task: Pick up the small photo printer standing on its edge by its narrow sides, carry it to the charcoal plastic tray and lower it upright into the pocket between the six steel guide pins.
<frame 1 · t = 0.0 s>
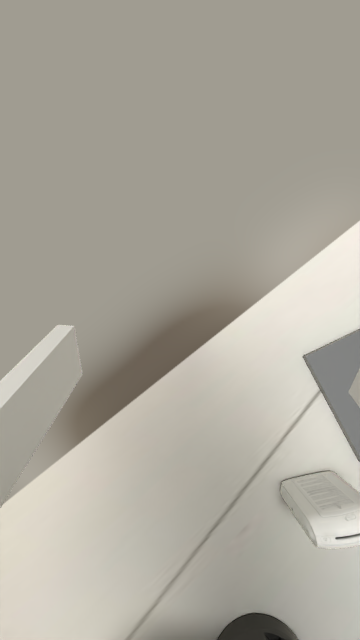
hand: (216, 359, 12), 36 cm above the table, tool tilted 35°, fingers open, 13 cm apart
photo printer: (307, 485, 44), on the table
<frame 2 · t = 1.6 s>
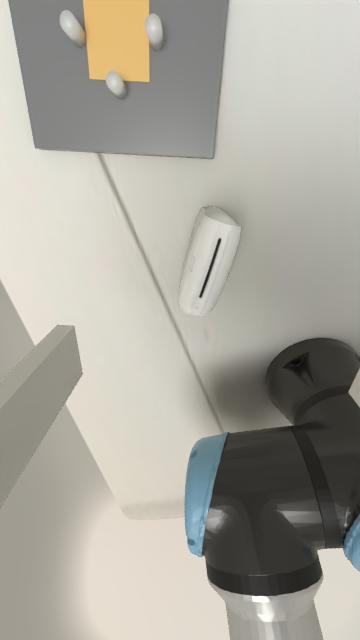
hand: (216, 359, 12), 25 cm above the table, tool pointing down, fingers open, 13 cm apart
pin tray: (119, 0, 23), on the table
photo printer: (203, 247, 34), on the table
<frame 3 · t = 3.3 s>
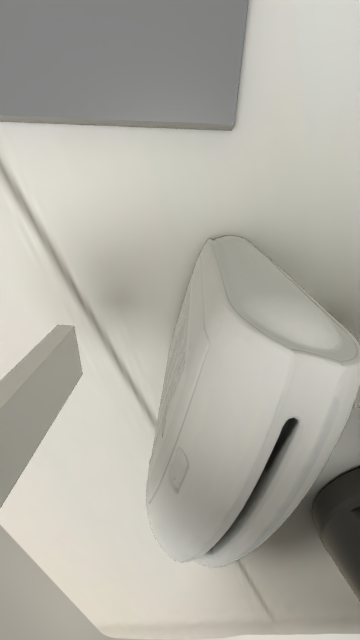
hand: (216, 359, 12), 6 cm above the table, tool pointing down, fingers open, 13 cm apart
photo printer: (210, 311, 17), on the table
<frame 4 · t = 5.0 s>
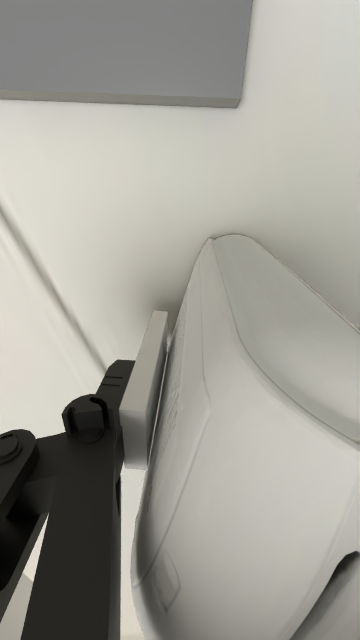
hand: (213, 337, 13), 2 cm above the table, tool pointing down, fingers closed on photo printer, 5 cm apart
photo printer: (211, 320, 15), on the table, touching gripper
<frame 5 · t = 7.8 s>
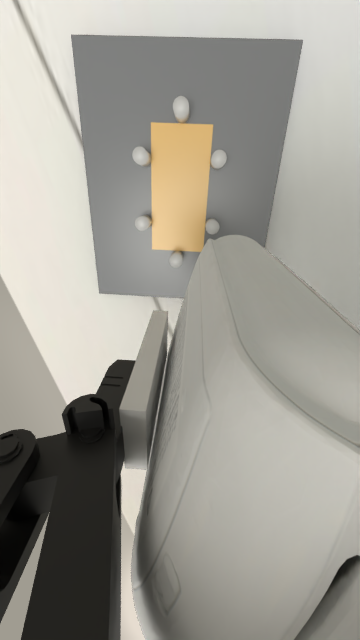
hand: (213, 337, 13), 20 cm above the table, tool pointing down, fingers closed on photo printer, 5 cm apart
pin tray: (180, 193, 28), on the table
photo printer: (211, 320, 15), point 18 cm above the table, touching gripper
when the fingers open (4 cm above the table, at t = 10.8 s): photo printer stays where it is, resting on pin tray.
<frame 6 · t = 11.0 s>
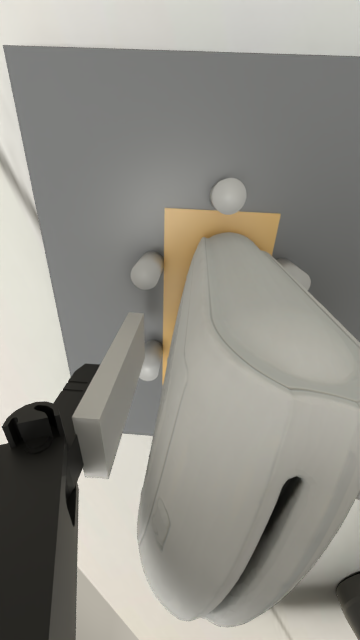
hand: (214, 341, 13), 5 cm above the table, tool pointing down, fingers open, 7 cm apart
pin tray: (209, 305, 17), on the table
photo printer: (210, 314, 16), point 1 cm above the table, touching pin tray
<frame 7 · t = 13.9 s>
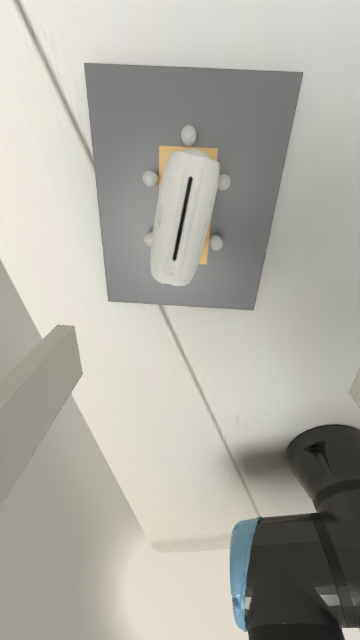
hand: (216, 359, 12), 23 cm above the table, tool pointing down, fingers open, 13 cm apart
pin tray: (185, 209, 30), on the table
photo printer: (185, 211, 29), point 1 cm above the table, touching pin tray
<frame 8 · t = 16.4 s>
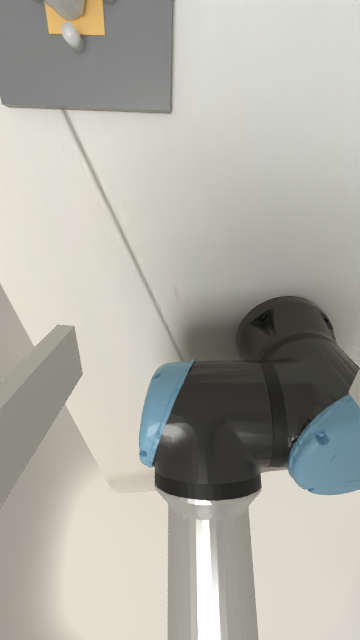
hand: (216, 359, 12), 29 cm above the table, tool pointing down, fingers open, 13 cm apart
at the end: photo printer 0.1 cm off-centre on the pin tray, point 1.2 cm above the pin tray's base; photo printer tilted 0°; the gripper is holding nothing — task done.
